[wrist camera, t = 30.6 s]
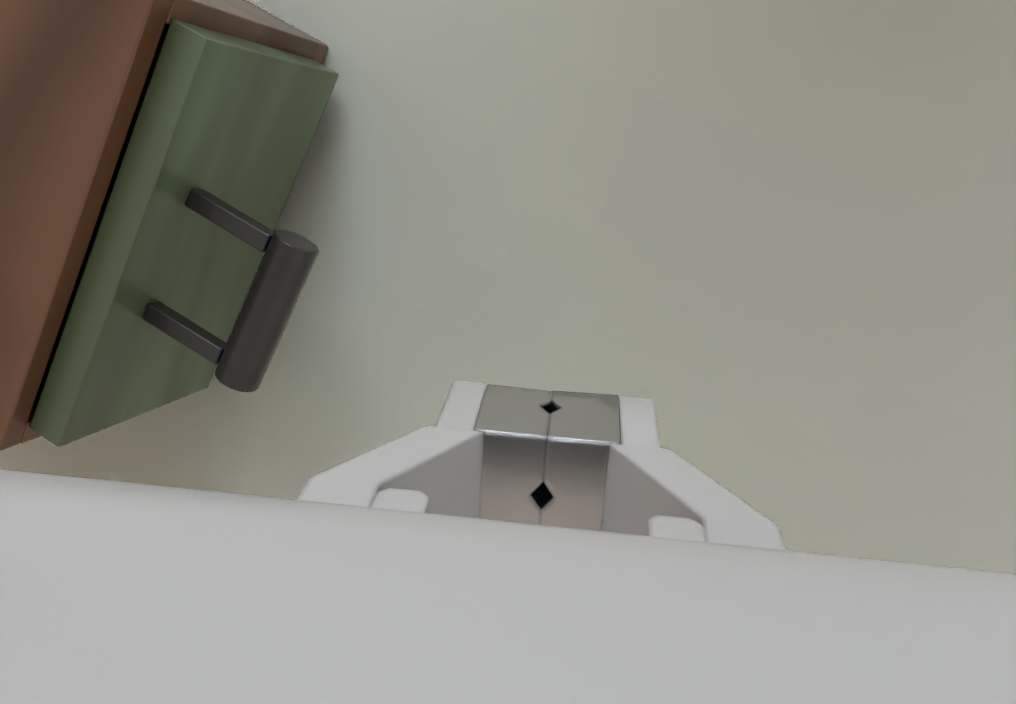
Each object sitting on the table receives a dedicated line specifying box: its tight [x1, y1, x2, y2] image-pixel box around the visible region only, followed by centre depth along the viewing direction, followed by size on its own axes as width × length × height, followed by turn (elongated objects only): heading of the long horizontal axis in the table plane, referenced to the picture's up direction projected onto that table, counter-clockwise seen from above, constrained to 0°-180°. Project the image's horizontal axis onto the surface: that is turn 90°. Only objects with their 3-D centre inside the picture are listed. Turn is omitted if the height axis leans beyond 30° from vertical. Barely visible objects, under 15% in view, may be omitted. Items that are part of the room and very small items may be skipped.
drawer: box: [30, 19, 339, 447], centre depth 28 cm, size 19×13×8 cm
